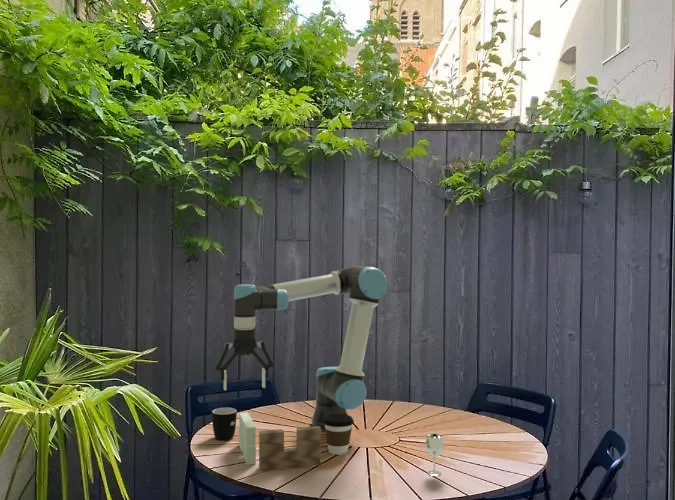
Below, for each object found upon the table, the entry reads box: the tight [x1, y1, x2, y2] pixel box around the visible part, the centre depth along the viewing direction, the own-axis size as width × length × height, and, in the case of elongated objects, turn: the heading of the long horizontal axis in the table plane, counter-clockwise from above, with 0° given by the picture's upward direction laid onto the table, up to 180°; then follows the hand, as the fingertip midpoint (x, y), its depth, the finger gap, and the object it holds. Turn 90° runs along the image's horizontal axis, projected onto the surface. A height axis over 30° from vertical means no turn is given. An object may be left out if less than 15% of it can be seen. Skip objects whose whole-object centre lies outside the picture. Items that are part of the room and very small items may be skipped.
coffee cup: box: [323, 414, 355, 456], centre depth 214 cm, size 11×11×12 cm
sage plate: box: [238, 411, 257, 466], centre depth 211 cm, size 3×20×12 cm, turn 16°
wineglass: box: [424, 433, 445, 477], centre depth 195 cm, size 6×6×12 cm
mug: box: [211, 407, 238, 441], centre depth 229 cm, size 12×9×10 cm
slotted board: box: [258, 426, 322, 472], centre depth 200 cm, size 20×3×12 cm, turn 106°
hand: (244, 388), depth 216 cm, fingers open, 13 cm apart
